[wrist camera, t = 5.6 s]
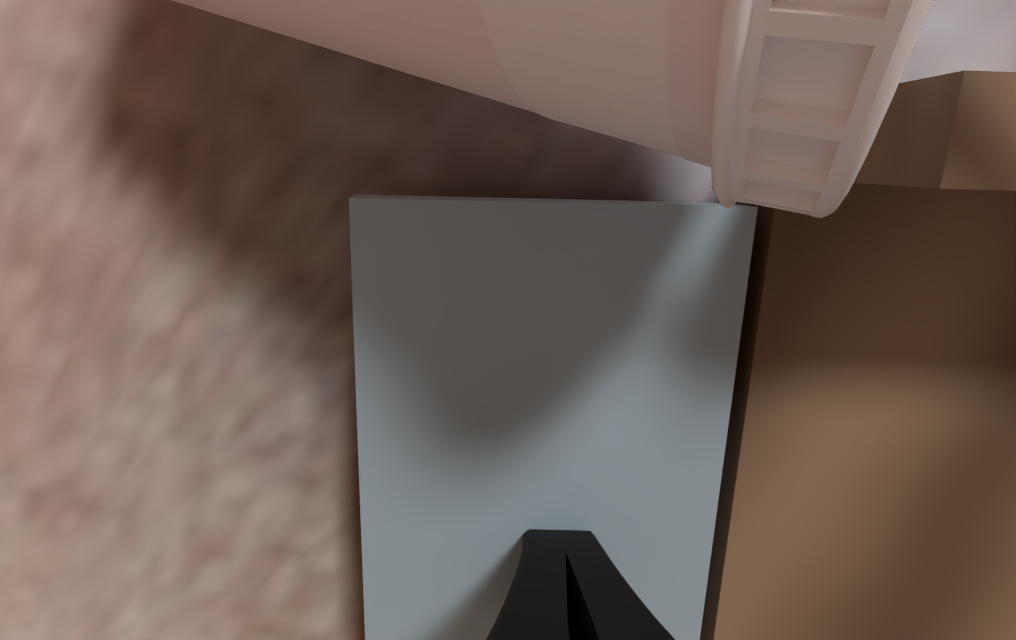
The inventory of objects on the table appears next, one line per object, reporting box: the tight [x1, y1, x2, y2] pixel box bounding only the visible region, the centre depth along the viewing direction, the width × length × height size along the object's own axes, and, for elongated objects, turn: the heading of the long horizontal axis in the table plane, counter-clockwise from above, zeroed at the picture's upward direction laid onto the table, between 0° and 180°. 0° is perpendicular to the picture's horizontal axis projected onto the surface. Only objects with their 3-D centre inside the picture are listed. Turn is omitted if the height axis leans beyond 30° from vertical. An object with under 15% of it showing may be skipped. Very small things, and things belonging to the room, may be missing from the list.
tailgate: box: [349, 194, 758, 640], centre depth 12 cm, size 1×14×7 cm
